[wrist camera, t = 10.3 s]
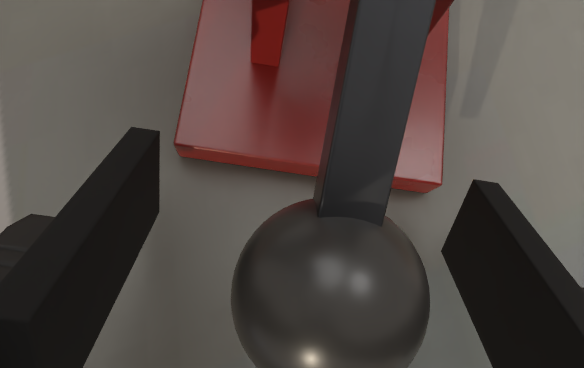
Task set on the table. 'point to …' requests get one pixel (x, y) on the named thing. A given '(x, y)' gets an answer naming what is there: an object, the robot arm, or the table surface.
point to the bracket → (294, 89)
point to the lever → (345, 220)
